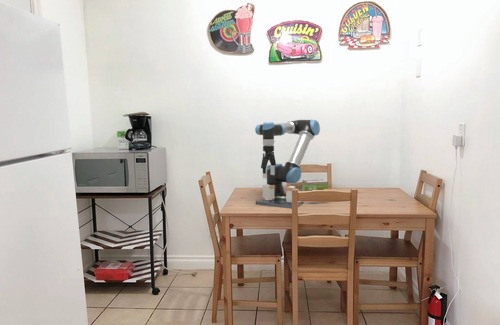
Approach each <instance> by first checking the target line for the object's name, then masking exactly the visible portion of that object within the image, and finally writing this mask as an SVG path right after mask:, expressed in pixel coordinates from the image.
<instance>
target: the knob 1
mask: <svg viewBox="0 0 500 325" xmlns="http://www.w3.org/2000/svg"><path fill="white" fill-rule="evenodd" d="M274 188H275V185H268V184H267V183H266V184H263V185H262V198H265V200H266V201H271V200H272V199H274V198H275V196H274Z"/></svg>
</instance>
